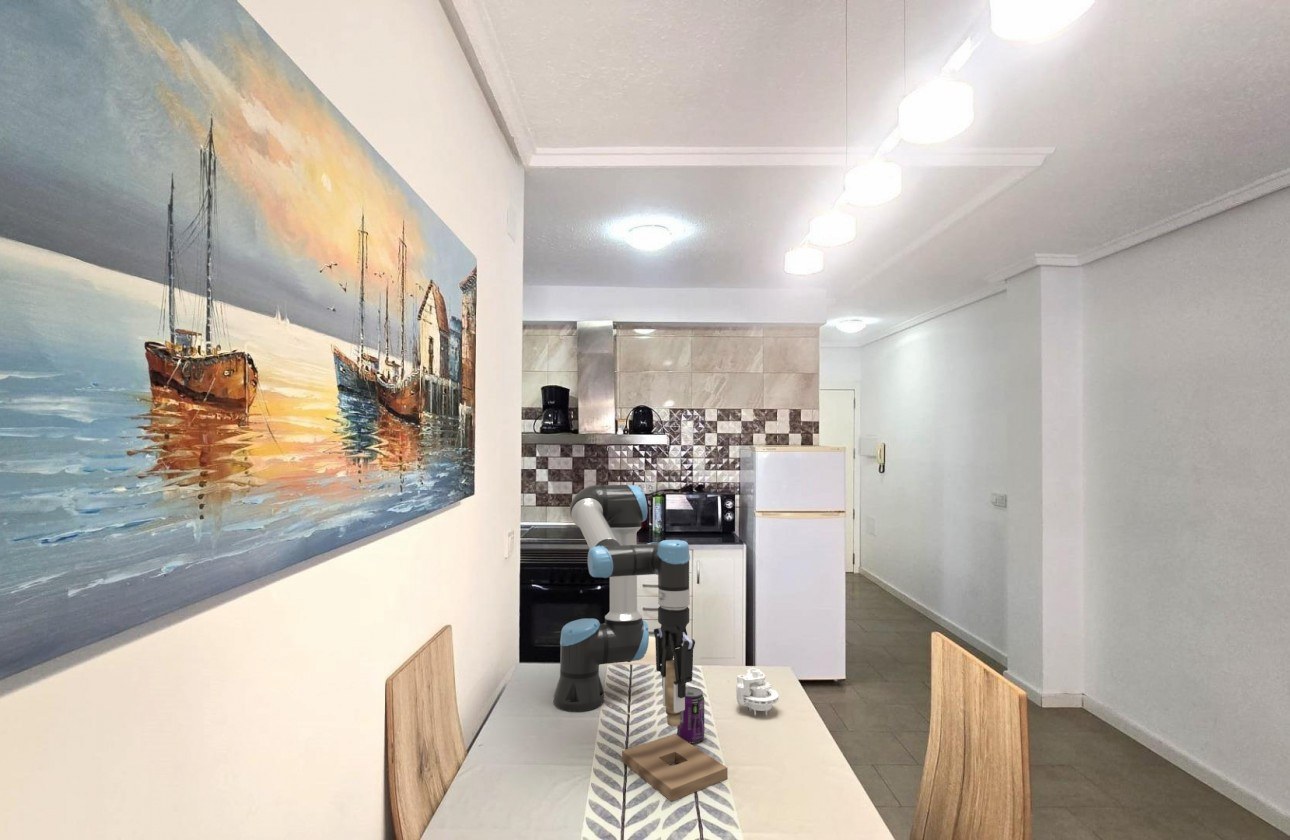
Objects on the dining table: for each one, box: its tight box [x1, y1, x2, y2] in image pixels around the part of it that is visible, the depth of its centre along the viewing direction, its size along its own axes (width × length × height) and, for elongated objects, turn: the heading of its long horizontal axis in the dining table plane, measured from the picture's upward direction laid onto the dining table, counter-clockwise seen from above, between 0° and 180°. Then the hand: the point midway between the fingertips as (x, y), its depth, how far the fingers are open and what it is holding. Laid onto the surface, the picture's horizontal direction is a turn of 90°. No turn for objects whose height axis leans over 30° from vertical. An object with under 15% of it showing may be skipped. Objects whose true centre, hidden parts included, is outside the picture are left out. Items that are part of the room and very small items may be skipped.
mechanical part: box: [735, 667, 779, 717], centre depth 171 cm, size 11×12×12 cm
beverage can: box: [676, 686, 705, 744], centre depth 154 cm, size 7×7×12 cm
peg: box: [665, 659, 681, 727], centre depth 139 cm, size 4×4×14 cm
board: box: [621, 733, 729, 802], centre depth 138 cm, size 20×16×2 cm
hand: (673, 707), depth 139 cm, fingers closed on peg, 3 cm apart
